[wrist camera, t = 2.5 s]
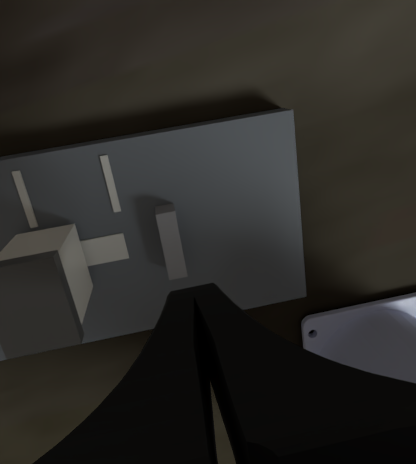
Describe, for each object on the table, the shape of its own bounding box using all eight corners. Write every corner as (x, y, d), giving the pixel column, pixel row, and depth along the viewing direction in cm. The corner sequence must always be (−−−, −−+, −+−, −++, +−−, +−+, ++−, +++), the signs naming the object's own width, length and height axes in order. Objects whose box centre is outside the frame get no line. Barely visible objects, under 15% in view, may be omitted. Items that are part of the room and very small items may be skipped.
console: (296, 282, 21) (315, 309, 18) (-134, 371, 19) (-177, 413, 17) (282, 108, 18) (303, 111, 15) (-236, 197, 16) (-308, 217, 14)
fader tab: (96, 289, 18) (81, 343, 14) (37, 301, 17) (6, 359, 14) (75, 218, 16) (53, 256, 13) (12, 230, 16) (-30, 273, 12)
